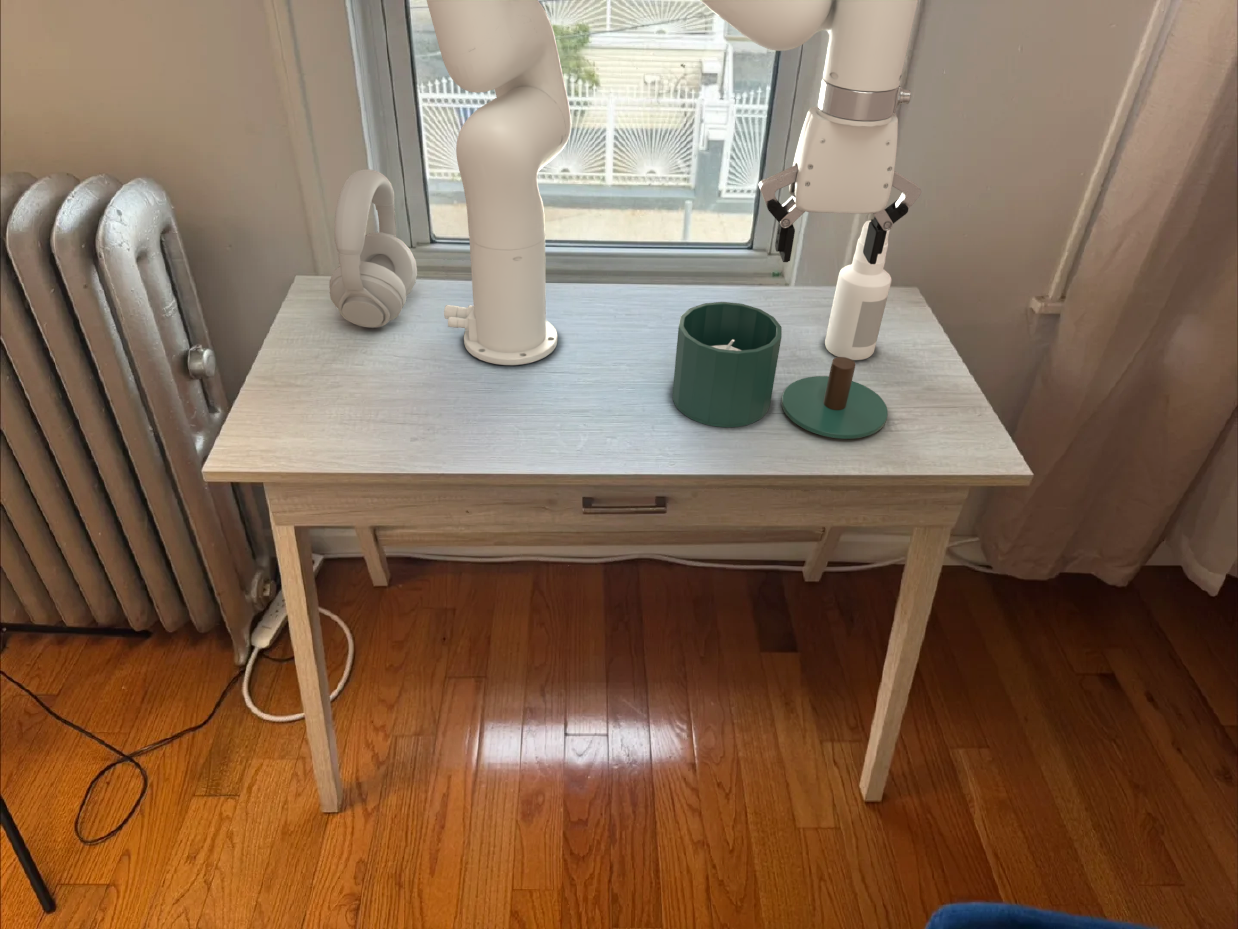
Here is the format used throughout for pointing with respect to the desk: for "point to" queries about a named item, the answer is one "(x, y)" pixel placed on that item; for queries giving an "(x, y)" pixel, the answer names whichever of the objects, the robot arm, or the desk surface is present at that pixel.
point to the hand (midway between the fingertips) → (826, 257)
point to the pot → (725, 363)
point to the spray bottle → (858, 304)
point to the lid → (835, 404)
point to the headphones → (369, 254)
